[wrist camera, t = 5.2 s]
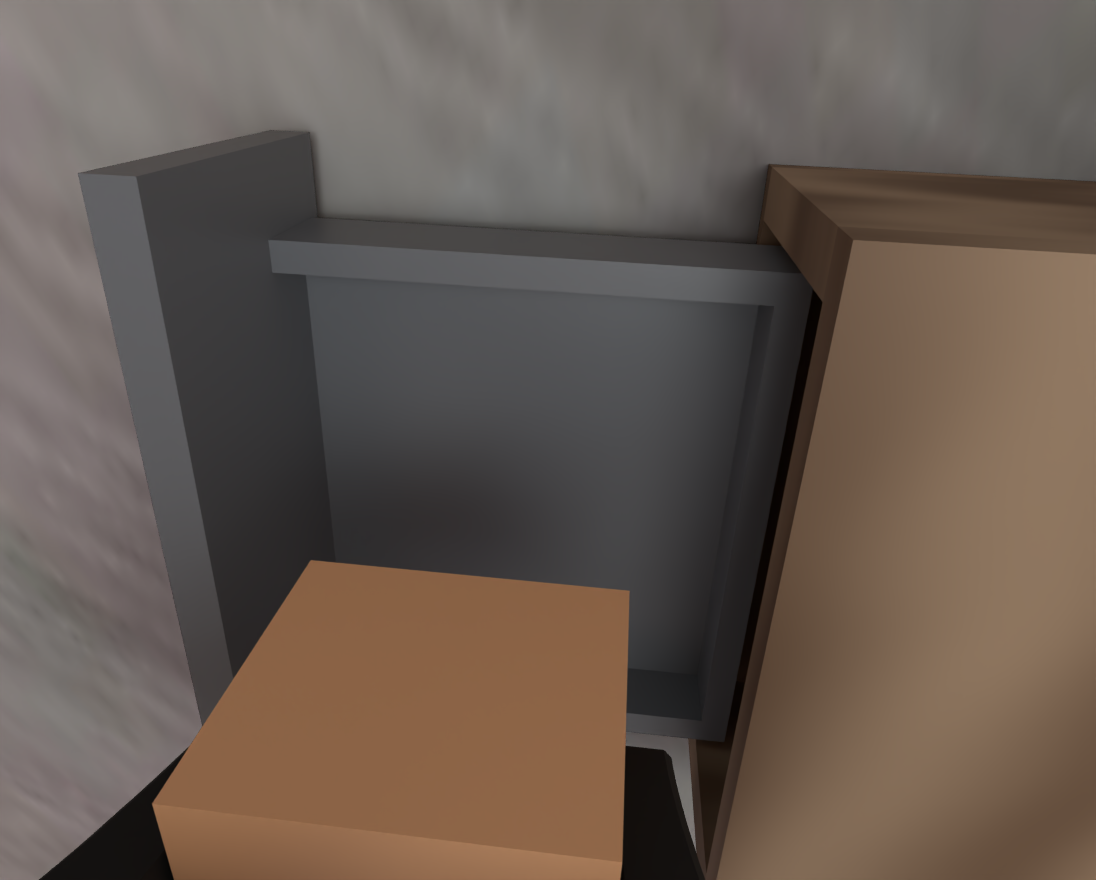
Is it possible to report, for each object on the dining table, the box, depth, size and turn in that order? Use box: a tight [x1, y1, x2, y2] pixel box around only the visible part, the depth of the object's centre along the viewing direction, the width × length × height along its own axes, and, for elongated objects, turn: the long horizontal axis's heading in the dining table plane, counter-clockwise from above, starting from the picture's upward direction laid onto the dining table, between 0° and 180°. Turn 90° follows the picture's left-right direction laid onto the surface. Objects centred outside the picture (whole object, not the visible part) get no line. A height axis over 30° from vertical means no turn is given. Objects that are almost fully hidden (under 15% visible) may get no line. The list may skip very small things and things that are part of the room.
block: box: [152, 560, 630, 880], centre depth 10 cm, size 4×4×4 cm
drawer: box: [78, 130, 813, 742], centre depth 16 cm, size 10×14×6 cm
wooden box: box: [688, 164, 1096, 880], centre depth 15 cm, size 11×14×7 cm
